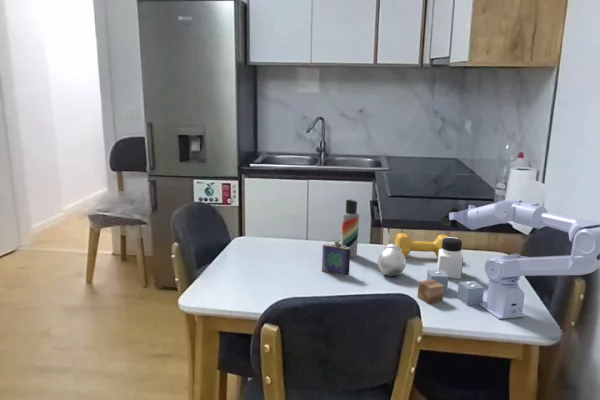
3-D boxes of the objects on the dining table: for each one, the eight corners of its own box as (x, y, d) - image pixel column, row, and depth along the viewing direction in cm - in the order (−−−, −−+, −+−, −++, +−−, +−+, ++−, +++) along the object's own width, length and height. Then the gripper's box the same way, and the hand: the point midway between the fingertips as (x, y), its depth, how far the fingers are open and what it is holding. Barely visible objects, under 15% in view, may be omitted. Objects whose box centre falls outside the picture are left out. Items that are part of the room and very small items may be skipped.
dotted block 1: (446, 292, 160) (448, 275, 159) (430, 291, 160) (431, 275, 159) (442, 285, 165) (443, 269, 164) (426, 285, 165) (427, 269, 164)
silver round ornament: (409, 273, 173) (412, 244, 171) (398, 282, 166) (400, 251, 163) (384, 267, 178) (386, 238, 176) (371, 275, 171) (373, 245, 168)
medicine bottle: (461, 279, 170) (465, 243, 167) (437, 277, 171) (441, 241, 169) (459, 271, 177) (463, 236, 174) (436, 269, 178) (440, 234, 175)
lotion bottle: (337, 253, 190) (340, 198, 185) (351, 251, 193) (354, 197, 188) (345, 258, 185) (348, 202, 180) (359, 256, 188) (363, 201, 183)
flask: (320, 271, 173) (322, 239, 170) (323, 268, 175) (325, 237, 173) (347, 276, 169) (349, 244, 167) (350, 273, 172) (352, 241, 169)
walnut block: (442, 301, 153) (444, 285, 152) (428, 304, 151) (430, 288, 150) (431, 295, 157) (432, 279, 156) (417, 297, 155) (418, 281, 154)
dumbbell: (396, 260, 185) (398, 238, 183) (392, 252, 194) (394, 230, 192) (451, 262, 185) (454, 240, 183) (445, 254, 194) (447, 232, 192)
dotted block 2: (482, 304, 152) (484, 286, 151) (466, 305, 151) (468, 288, 150) (472, 296, 157) (474, 280, 156) (457, 298, 156) (458, 281, 155)
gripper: (503, 205, 155) (469, 213, 167) (464, 198, 149) (432, 207, 161) (504, 230, 153) (469, 236, 165) (465, 223, 147) (432, 230, 159)
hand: (451, 223), depth 163 cm, fingers open, 7 cm apart
